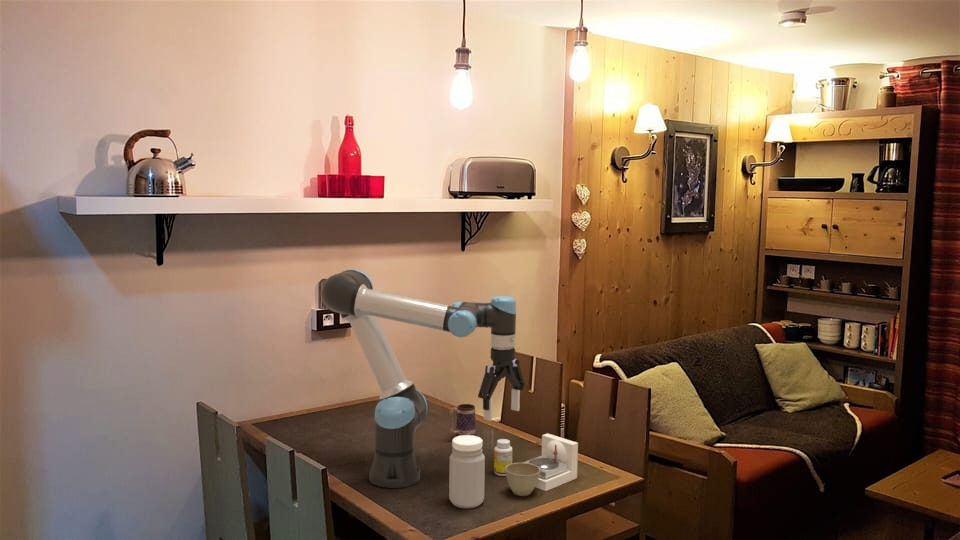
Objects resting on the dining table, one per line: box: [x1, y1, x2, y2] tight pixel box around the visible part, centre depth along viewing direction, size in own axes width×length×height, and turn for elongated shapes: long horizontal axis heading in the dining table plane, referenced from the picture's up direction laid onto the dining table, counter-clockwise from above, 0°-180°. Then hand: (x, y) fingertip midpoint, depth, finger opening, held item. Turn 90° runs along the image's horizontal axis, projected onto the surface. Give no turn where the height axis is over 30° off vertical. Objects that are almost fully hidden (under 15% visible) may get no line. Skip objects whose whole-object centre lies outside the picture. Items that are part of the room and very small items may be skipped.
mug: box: [449, 403, 477, 437], centre depth 264 cm, size 10×7×12 cm
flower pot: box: [505, 462, 540, 497], centre depth 219 cm, size 10×10×7 cm
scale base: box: [535, 432, 579, 492], centre depth 230 cm, size 15×12×11 cm
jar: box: [448, 435, 486, 509], centre depth 212 cm, size 10×10×18 cm
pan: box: [522, 455, 567, 479], centre depth 229 cm, size 10×10×2 cm
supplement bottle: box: [493, 438, 513, 477], centre depth 234 cm, size 6×6×10 cm
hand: (501, 415), depth 236 cm, fingers open, 13 cm apart
